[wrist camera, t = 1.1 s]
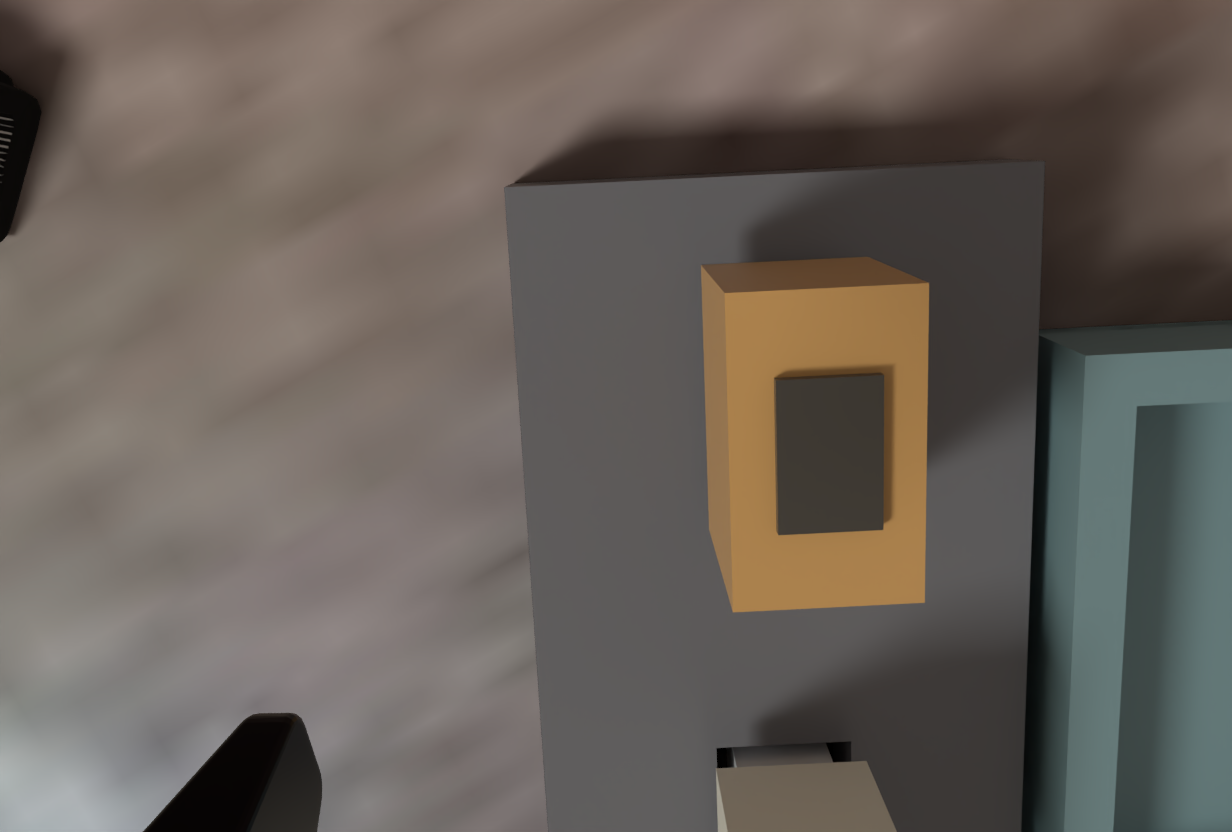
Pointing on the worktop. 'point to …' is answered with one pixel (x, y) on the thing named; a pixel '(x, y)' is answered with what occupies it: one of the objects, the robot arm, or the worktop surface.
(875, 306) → the block
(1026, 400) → the block
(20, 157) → the electric trimmer
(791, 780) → the block
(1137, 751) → the parts tray
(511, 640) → the worktop surface
